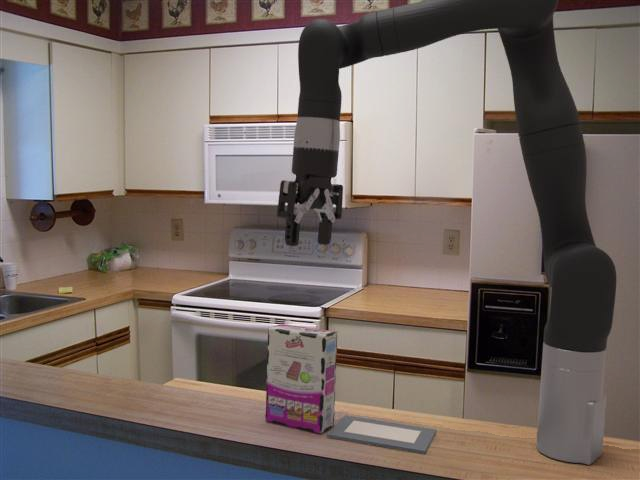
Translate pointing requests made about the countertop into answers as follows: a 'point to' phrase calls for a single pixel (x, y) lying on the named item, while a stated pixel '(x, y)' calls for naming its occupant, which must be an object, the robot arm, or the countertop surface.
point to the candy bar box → (301, 377)
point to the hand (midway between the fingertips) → (308, 244)
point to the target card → (383, 434)
